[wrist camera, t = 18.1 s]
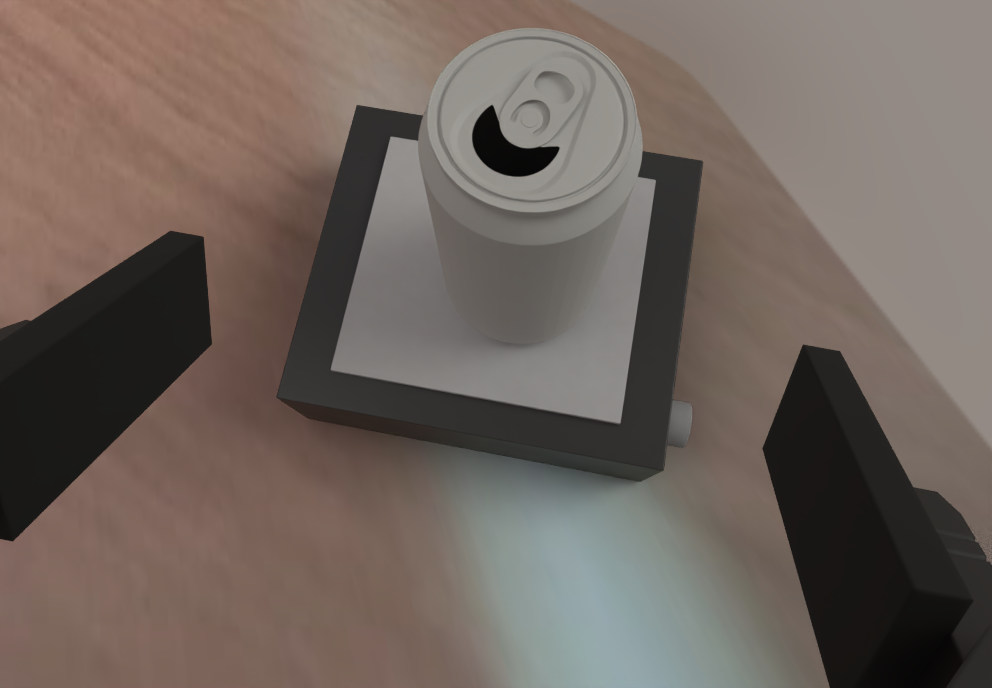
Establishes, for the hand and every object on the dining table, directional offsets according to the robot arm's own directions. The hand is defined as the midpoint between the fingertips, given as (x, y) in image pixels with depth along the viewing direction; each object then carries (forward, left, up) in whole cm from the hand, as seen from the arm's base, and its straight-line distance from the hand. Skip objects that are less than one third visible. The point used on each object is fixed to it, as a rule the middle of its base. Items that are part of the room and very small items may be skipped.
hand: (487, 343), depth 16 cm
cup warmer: (+1, -7, -19) cm, 20 cm away
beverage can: (0, -7, -14) cm, 15 cm away
